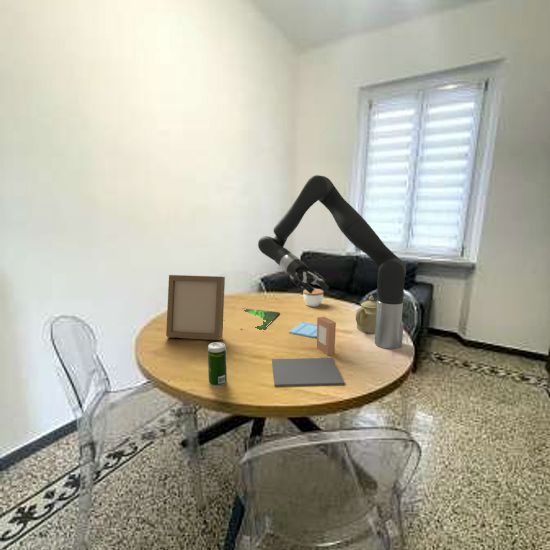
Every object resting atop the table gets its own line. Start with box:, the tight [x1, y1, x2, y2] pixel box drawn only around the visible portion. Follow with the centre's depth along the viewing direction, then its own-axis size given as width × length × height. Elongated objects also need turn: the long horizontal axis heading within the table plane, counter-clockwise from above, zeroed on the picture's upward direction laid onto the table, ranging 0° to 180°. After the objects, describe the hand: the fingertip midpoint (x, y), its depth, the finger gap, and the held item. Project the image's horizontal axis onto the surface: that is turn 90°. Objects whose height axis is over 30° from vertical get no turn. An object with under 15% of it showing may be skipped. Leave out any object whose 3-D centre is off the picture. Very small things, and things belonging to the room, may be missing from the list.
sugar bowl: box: [355, 294, 377, 334], centre depth 146 cm, size 15×11×15 cm
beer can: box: [207, 341, 228, 388], centre depth 103 cm, size 5×5×12 cm
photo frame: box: [165, 274, 226, 341], centre depth 140 cm, size 15×22×25 cm
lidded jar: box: [302, 288, 325, 308], centre depth 182 cm, size 11×11×9 cm
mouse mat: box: [244, 308, 281, 331], centre depth 160 cm, size 27×22×1 cm
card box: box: [316, 316, 337, 356], centre depth 125 cm, size 3×7×12 cm, turn 28°
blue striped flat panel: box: [288, 321, 317, 339], centre depth 147 cm, size 14×12×1 cm
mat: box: [271, 357, 346, 387], centre depth 111 cm, size 21×17×1 cm
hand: (320, 290), depth 126 cm, fingers open, 8 cm apart
